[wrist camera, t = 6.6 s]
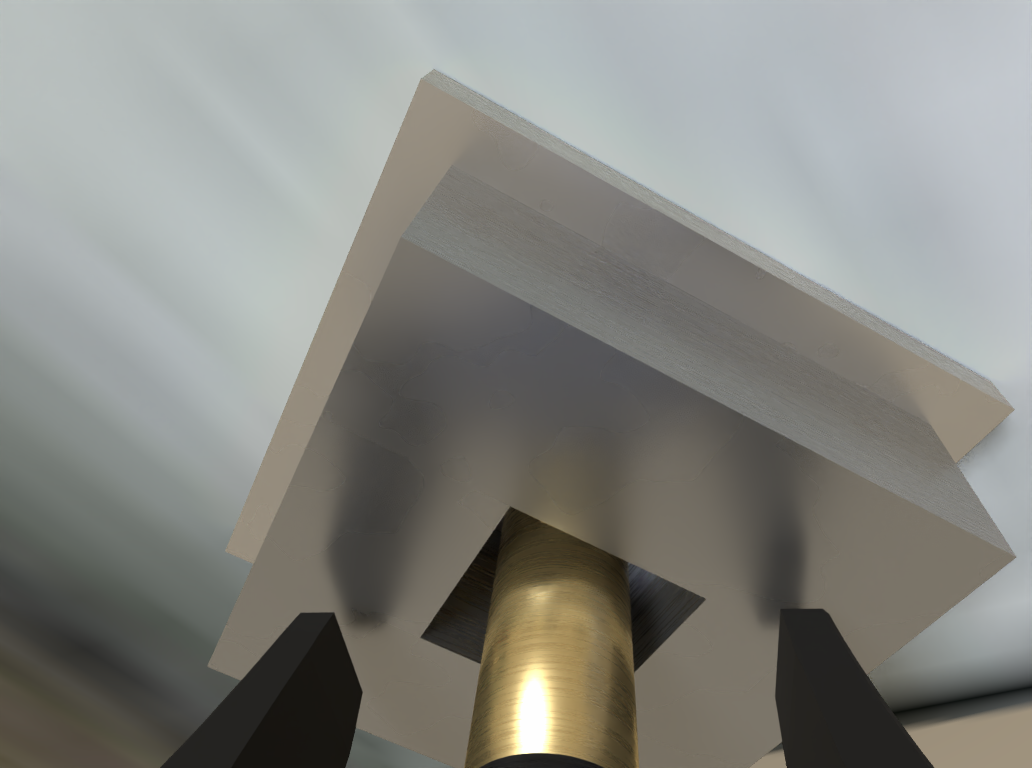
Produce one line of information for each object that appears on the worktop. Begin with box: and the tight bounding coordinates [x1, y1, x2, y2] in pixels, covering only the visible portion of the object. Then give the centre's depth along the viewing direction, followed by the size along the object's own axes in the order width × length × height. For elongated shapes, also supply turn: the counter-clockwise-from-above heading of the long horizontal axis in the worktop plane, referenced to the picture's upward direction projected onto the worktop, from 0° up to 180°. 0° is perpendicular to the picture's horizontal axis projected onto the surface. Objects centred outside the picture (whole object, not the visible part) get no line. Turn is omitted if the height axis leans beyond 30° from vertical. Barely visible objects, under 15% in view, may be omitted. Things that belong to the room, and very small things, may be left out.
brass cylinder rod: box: [464, 506, 639, 768], centre depth 12 cm, size 2×2×8 cm
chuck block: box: [207, 69, 1016, 768], centre depth 15 cm, size 12×12×4 cm
